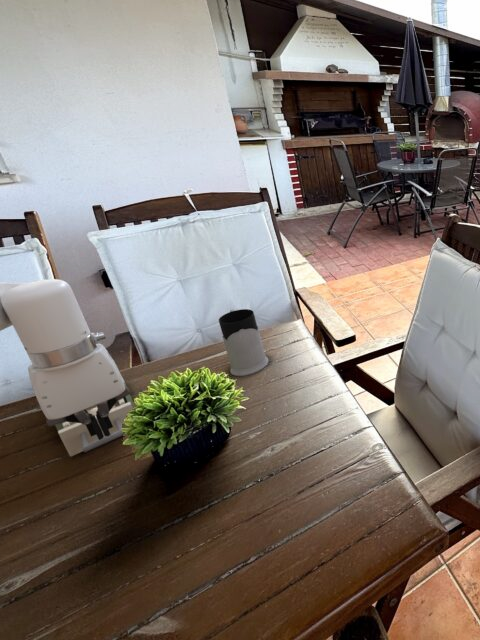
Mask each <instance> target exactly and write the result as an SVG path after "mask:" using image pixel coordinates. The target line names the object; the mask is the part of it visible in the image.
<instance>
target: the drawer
mask: <svg viewBox="0 0 480 640" xmlns="http://www.w3.org/2000/svg"><path fill="white" fill-rule="evenodd" d="M115 406H117V407H116V408H113V409H111V410H110V411H109V415H108V416H109V418H110V421H111V423H112V425H113V427H112V428H110V429H109V432H110V434H111V435H109V436H105V435H104V433H103V431H102V433H103V436H104V437H103V439H100V440H99V439H98V437H97V435H94V436H92V437H91V435H90V433H89V431H88V429H87V427H86V425H83V424H81V423H76V424H74V422H64V423H62V425H63V428H64V429H61V430H59V431H58V430H57V433H58V436H59V438H60V439H61V442H62V443H63V445H64V448H65V450H66V451H67V453H68V456H69V457H73V456H75V455H78V454H80V453H82V452H83V453H87V452H89V451H91V450H94V449H97V448H98V447H101V446H104V445H105V444H107V443H110V442H112V441H114V440H116V439H118V438H121V437H123V436H125V435H126V434H125V433H123V432H122V430H121V428H122V424H123V421H124V419H125V418H126V416H127V414H128V412H129V411H131V410H132V409H133V407H132V405H131V403H130V402H128V403H126V404H125V401H124V399H121V400H119V401H117V402H116V403H115ZM95 407H97V405H95V406H92V407H90V408H87V409H86V410H90V409H92V408H95ZM95 417H96V416H95ZM96 420H97V417H96ZM97 422H98V420H97ZM98 424H99V422H98ZM99 426H100V425H99ZM100 428H101V427H100ZM101 430H102V429H101Z"/></svg>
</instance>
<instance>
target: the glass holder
mask: <svg viewBox="0 0 480 640" xmlns="http://www.w3.org/2000/svg"><path fill="white" fill-rule="evenodd" d="M218 323H219V327H220V329H221V330H220V331H221V334H222V340H223V344H224V346H225V350H226V355H227V358H228V360H229V365H230V370H229V371H230V374H231V375H233V376H237V377H243V376H244V377H245V376H249V375H251V374H254V373H255V374H256V373H257V372H259V371H261V370H262V369H264V368H265V367H266V366H267V365H268V364H269V358H268V357H267V355H266V351H265V349H264V345H263V341H262V336H261V333H260V330H259V326H258V325H257V320H256V315H255V313H254V311H253V310H252V309H250V308H249V309H248V308H243V309H235V310H234V309H233V308H232V309H229V312H227V313H224V314H223V315H221V316H220V317H219V318H218Z"/></svg>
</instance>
